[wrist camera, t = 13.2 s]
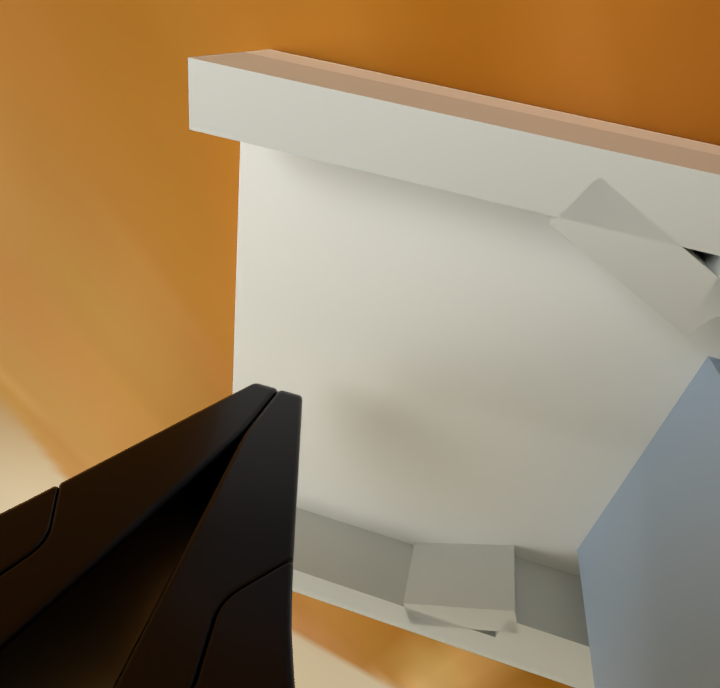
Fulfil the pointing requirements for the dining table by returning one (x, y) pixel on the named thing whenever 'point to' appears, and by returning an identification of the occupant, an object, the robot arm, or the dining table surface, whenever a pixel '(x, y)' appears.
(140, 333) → the dining table surface
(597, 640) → the block
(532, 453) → the board
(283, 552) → the robot arm
